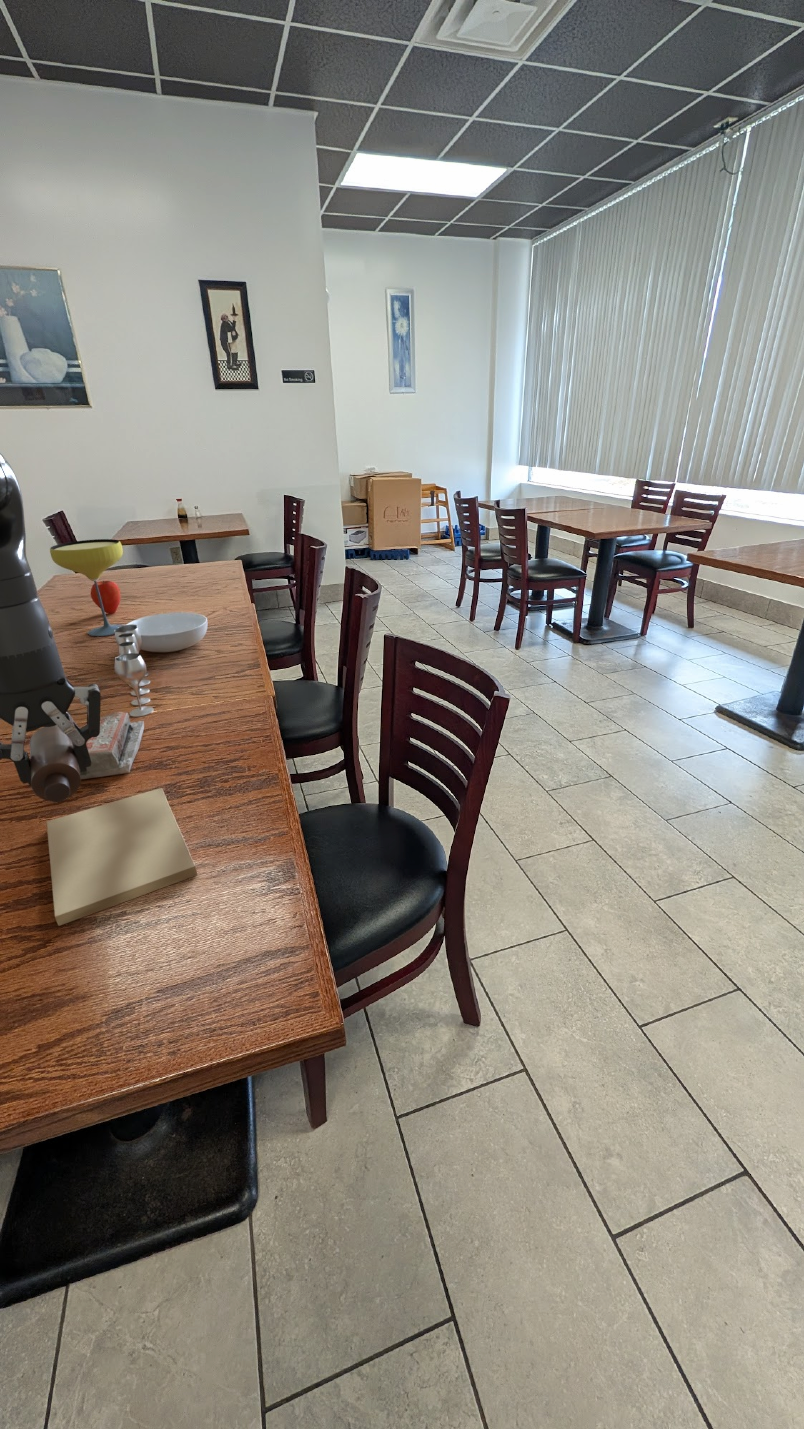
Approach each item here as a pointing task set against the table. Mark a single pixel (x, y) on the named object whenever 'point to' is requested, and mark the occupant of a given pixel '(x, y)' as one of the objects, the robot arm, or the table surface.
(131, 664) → the goblet set
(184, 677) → the table surface
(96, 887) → the pastry board
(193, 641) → the serving bowl
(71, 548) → the cocktail glass
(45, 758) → the rolling pin
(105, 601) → the apple
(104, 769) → the packaged product
